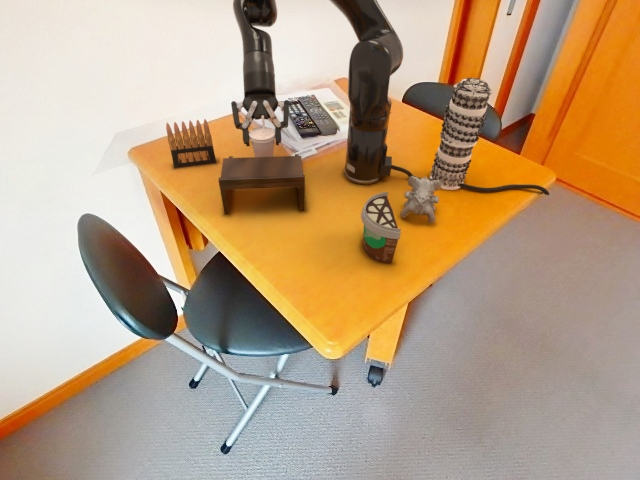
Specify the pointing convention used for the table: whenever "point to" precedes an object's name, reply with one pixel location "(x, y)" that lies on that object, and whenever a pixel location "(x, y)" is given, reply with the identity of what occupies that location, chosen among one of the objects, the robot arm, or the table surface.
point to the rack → (261, 175)
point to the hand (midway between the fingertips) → (262, 144)
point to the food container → (379, 229)
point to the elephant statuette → (421, 197)
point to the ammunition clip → (190, 149)
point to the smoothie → (262, 140)
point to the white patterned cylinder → (460, 132)
